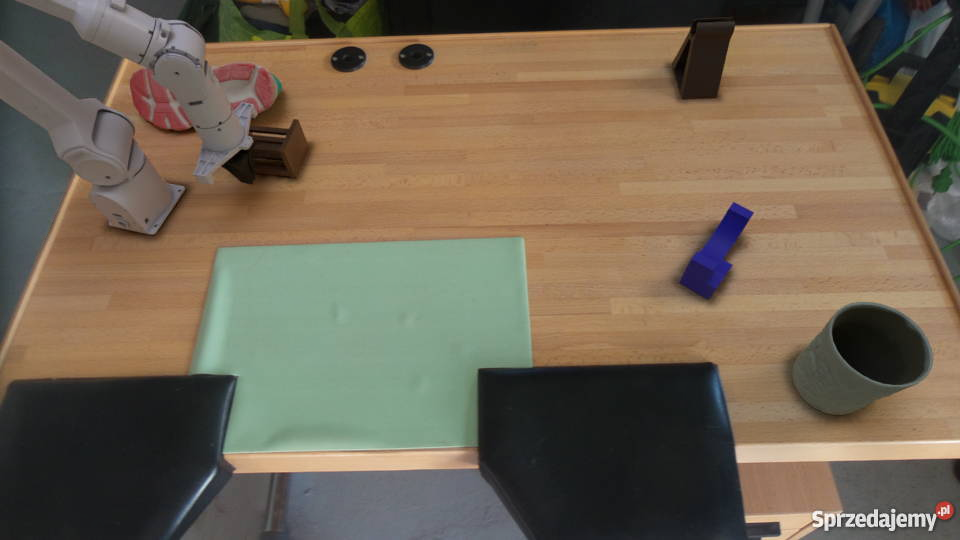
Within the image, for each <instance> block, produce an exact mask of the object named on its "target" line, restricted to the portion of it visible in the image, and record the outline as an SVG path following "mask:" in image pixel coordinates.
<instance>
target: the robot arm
mask: <svg viewBox="0 0 960 540" xmlns="http://www.w3.org/2000/svg"><path fill="white" fill-rule="evenodd" d="M15 1H16V2H19V3H21V4H23V5H26V6H28V7H31V8H34V9H35V10H38V11H41V12H44V13H46V14H49V15H51V16H54V17H56V18H58V19H61V20H64V21H66V22H69V23H70V24H71V25H72V27H73V28H74V29H75V31H76V32H77V34H78V35H79V37H80V38H81V39H82V40H83V41H86V42H88V43H90V44H92V45H95V46H97V47H99V48H101V49H103V50H106V51H108V52H110V53H112V54H115V55H117V56H119V57H120V58H123V59H125V60H128V61H130V62H132V63H134V64H136V65H138V66H140V67H142V68H143V67H145V68H148V69H150V70H152V71H153V75H152V78H153V79H154V80H155V81H156V82H157V83H158V84H159V85H161V86H162V87H164V88H166V89H168V90H170V91H171V92H172V93H173V94H174V96H175V98H176V99H177V101H178V103H179V104H180V106H181V107H182V109H183V111H184V112H185V114H186V116H187V117H188V119H189V120H190V122H191V124H192V125H193V126H192V127H193V129H194V130H195V132H196V134H197V136H198V137H199V138H200V140H201V147H200V149H199V150H200V151H199V155H198V159H197V164H196V167H195V168H194V171H193V172H192V175H193V177H194V178H195V180H196V181H197V183H198V184H201V185H202V184H203V185H207V186H212V185H213V183H214V182H215V178H214V177H213V176H214V175H215V173H216V172H217V170H218V169H220V168H223V169H224V170H226V171H227V172H229V173H230V174H231V175H232V176H233V177H235V178H236V180H238V181H239V182H240V183H241V184H245V185H246V184H247V185H254V182H256V179H257V176H256V173H255V169H254V165H255V162H254V161H255V160H254V158H253V155H254V147H255V142H254V140H253V138H252V137H250V136H248V134H249V128H250V125H251V122H252V119H256V118H257V116H258V115H259V114H258V113H257V111H256V109H255V106H254V104H249V103H243V102H242V103H241V104H240V105H239V106H238V107H237V108H236V109H235V110H233V108H232V106H231V104H230V102H229V100H228V98H227V96H226V95H225V93H224V91H223V89H222V87H221V85H220V83H219V81H218V79H217V77H216V76H215V74H214V72H213V70H212V68H211V66H212V65H211V64H210V62H209V60H207V59H206V54H207V47H206V46H207V45H206V41H205V38H204V36H203V35H202V34H201V32H200V31H199V30H198V29H196V28H195V27H193V26H192V25H190V24H189V22H186V21H184V20H179V19H162V18H161V17H158V18H157V17H153V16H151V15H149V14H147V13H145V12H143V11H141V10H139V9H137V8H135V7H134V6H131V5H130V4H128V3H127V0H15ZM0 100H2V101H3V102H5V103H6V104H7V105H9V106H10V107H12V108H13V109H15V110H16V111H18V112H19V113H21V114H22V115H24V116H25V117H26V118H28V119H30V120H31V121H32V122H34V123H35V124H37V125H39V126H40V127H41V128H42V129H44V130H46V131H47V132H48V135H49V137H50V140H51V143H52V145H53V148H54V151H55V153H56V155H57V157H58V158H59V159H60V160H62V161H63V162H64V163H66V164H67V165H68V166H70V169H72V171H73V173H74V174H75V175H76V176H78V177H79V178H80V179H82V180H83V181H85V182H87V183H90V184H92V187H91V190H90V192H89V194H88V197H87V198H88V200H89V202H90V203H91V204H92V205H93V206H94V207H95V208H96V210H97V211H98V212H99V213H101V215H102V216H103V217H104V218H105V219H106V220H107V221H108V223H107V224H108V225H109V226H110V227H113V228H118V229H122V230H127V231H131V232H136V233H141V234H145V235H150V236H154V235H156V234H157V233H158V231H159V229H160V228H162V227H161V226H162V225H163V224H164V222H165V220H166V219H167V218H168V216H169V215H170V213H171V212H172V211H173V209H174V207H176V204H177V203H178V202H179V200H180V199H181V198H182V196H183V194H184V193H185V192H186V187H185V186H184V185H178V184H174V183H168V182H167V181H166V180H165V178H164V177H163V176H162V175H161V173H160V172H159V171H158V170H157V168H156V166H155V165H154V164H153V163H152V161H151V159H149V158H148V156H147V155H146V153H145V152H144V151H143V149H142V148H141V147H140V146H139V143H138V142H137V140H136V139H135V138H134V137H135V133H136V126H135V124H134V121H133V120H132V119H131V118H130V117H129V116H128V115H127V114H125V113H123V112H121V111H120V110H117V109H115V108H112V107H109V106H107V105H106V104H104V103H103V102H101V101H100V100H99V99H98V98H95V97H89V98H82V99H78V98H77V97H76V96H75V95H73V94H72V93H71V92H69V90H67V89H65V88H64V87H63V86H62V85H60V84H59V83H58V82H57V81H55V80H53V78H51V77H50V76H48V74H46V73H44V72H43V71H42V70H41V69H39V68H38V67H36V65H34V64H33V63H32V62H30V61H29V60H28V59H26V58H25V57H24V56H22V55H21V54H20V53H18V52H17V51H16V50H14V49H13V48H12V47H11V46H10V45H8V44H6V43H5V42H4V41H3V40H1V39H0Z"/></svg>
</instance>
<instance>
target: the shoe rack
mask: <svg viewBox="0 0 960 540" xmlns="http://www.w3.org/2000/svg"><path fill="white" fill-rule="evenodd" d="M255 133H256V134H255ZM259 134H265V135H259ZM268 135H277V136H268ZM248 136H250V137H252V138H253V140H254V142H255V147H254V155H253V159H258V160H266V161H267V160H268V161H278V162H283V163H284V166H285V167H284V166H273V165H265V164H254V169H255V174H261V175H273V176H281V177H290V178H291V179H296V178H297V177H298V174H299V171H300V169H301V166H302V164H303V162H304V159H305V157H306V155H307V153H308V149H309V147H310V146H309V143H308V141H307V138H306V135H305V132H304V131H303V128H302V125H301V123H300V120H299V119H298V118H297V119H296V118H293V120H292V122H291V124H290V126H289V128H283V127H274V126H273V127H272V126H262V125H253V124H252V125H251V124H250V128H249V134H248ZM279 136H280V137H279ZM281 136H285V137H281Z"/></svg>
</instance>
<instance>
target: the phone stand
mask: <svg viewBox="0 0 960 540" xmlns="http://www.w3.org/2000/svg"><path fill="white" fill-rule="evenodd" d="M735 28H736V21H735V20H734V17H733V16H730V17H729V16H727V17H706V18H705V17H704V18H694V19H693V20H692V21H691V25H690V29H689V31H688V33H687V35H686V37H685V39H684V40H683V43H682V44H681V46H680V48H679V49H678V51H677V53H676V55H675V57H674V58H673V60H672V62H671V66H670V67H671V69H672V72H673V76H674V79H675V82H676V86H677V88H678V92H679V95H680V98H681V99H704V98H717V97H718V94H719V90H720V85H721V81H722V76H723V73H724V72H723V71H724V69H725V64H726V61H727V55H728V51H729V46H730V42H731V40H732V37H733V34H734V32H735Z"/></svg>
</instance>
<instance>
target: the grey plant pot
mask: <svg viewBox="0 0 960 540" xmlns="http://www.w3.org/2000/svg"><path fill="white" fill-rule="evenodd" d="M933 364H934V354H933V349H932V346H931V343H930V341H929V338H928V337H927V335H926V334H925V332H924V331H923V329H922V328H921V327H920V326H919V325H918V324H917V323H916V322H915V321H914V320H912V318H910V316H908V315H906V313H903V312H902V311H900V310H898V309H896V308H894V307H892V306H889V305H887V304H883V303H880V302H874V301H855V302H850V303H848V304H846V305H843V306H842V307H840V308H839V309H838V310H836V311H835V312H834V314H833V315H831V317H830V318H829V320H828V321H827V323H826V324H825V326H824V327H823V328H822V330H821V331H819V332H818V333H817V334H816V336H814V338H813V339H812V340H811V341H810V342H809V344H808V345H807V346H806V347H805V348H804V349H803V351H801V352H800V354H798V356H797V357H796V359H795V360H794V363H793V365H792V368H791V369H792V370H791V375H792V376H791V379H792V381H793V385H794V387H795V390H796V392H797V393H798V394H799V396H800V398H802V399H803V400H804V401H805V402H806V403H807V404H808V405H810V407H812V408H814V409H815V410H818V411H820V412H822V413H825V414H828V415H833V416H845V415H849V414H852V413H854V412H857V411H859V410H861V409H864V408H865V407H867V406H868V405H870V404H872V403H874V402H876V401H877V400H880V399H882V398H887V397H891V396H892V395H894V394H896V393H899V392H901V391H903V390H906V389H909V388H911V387H913V386H916V385H919V384H920V383H921V382H923V381H924V380H925V379H926V378H927V377H928V376H929V375H930V373H931V371H932V369H933V366H934V365H933Z"/></svg>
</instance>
